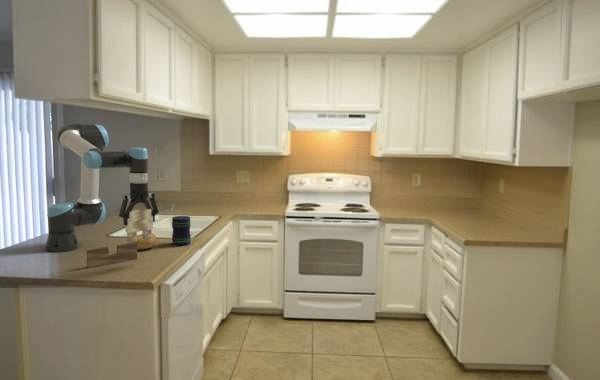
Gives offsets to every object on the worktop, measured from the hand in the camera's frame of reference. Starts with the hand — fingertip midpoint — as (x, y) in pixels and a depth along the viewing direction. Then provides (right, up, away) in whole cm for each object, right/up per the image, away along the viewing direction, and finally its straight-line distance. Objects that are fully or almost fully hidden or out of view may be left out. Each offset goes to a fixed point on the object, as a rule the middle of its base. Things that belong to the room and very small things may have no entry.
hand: (139, 230), depth 186 cm
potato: (-9, -13, +28) cm, 32 cm away
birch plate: (0, -4, +1) cm, 4 cm away
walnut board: (-14, -15, +3) cm, 21 cm away
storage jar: (+7, -12, +41) cm, 43 cm away
